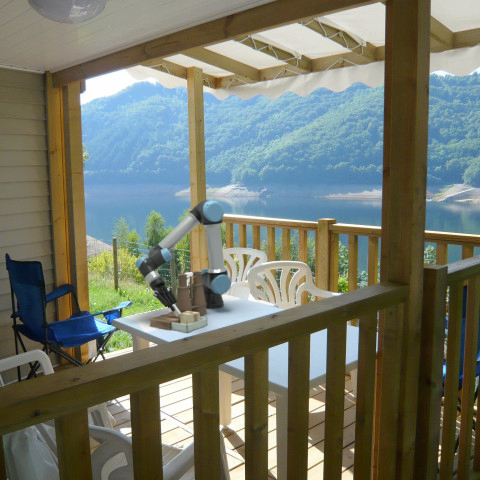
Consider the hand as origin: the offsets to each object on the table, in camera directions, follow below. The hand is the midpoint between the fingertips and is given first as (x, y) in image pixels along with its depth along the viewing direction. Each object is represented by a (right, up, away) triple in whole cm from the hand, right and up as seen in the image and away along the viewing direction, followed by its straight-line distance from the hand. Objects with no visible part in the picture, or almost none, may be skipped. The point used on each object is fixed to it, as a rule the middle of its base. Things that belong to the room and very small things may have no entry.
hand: (179, 315), depth 266 cm
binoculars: (+5, -4, +19) cm, 20 cm away
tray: (+6, -6, -3) cm, 9 cm away
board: (-4, -5, +4) cm, 8 cm away
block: (+3, -1, -2) cm, 4 cm away
